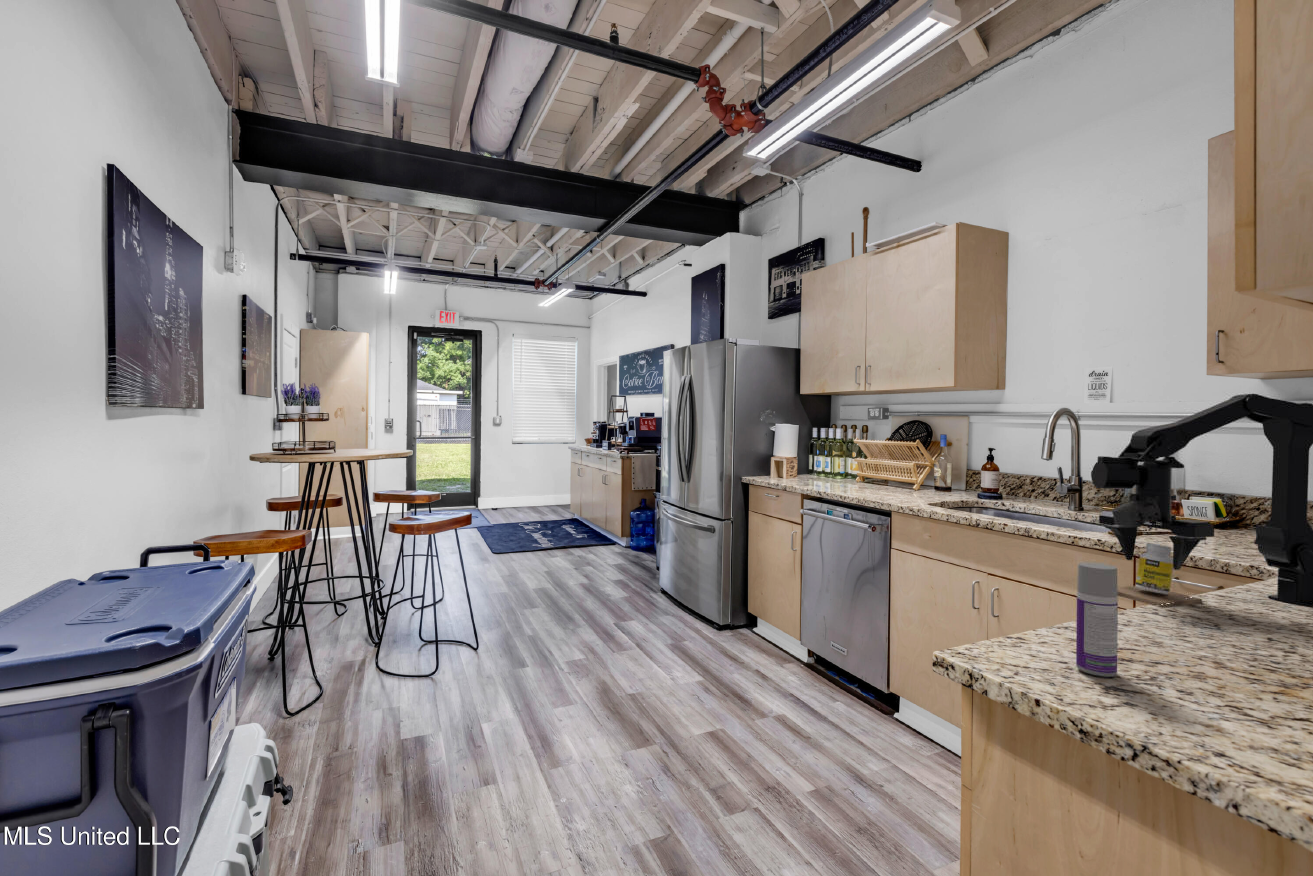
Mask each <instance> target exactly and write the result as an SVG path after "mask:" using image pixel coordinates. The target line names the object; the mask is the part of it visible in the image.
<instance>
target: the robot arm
mask: <svg viewBox="0 0 1313 876" xmlns="http://www.w3.org/2000/svg"><path fill="white" fill-rule="evenodd" d="M1244 418H1246V419H1248V420H1249V421H1252V422H1255V423H1258V424H1262V430H1263V434H1264V436H1265V437H1266V439H1267V440H1268V442H1269V443H1270V445H1271V447H1272V472H1271V473H1272V474H1271V475H1272V477H1271V480H1272V481H1271V502H1270V503H1271V507H1270V510H1271V511H1270V518H1269V519H1268V521H1267V522H1266V523H1265V524H1264V525H1262V524H1256V526H1255V535H1256V536H1255V537H1256V538H1255V540H1254V543H1253V544H1254V545H1257V550H1258V552H1259V554H1261V555H1262V556H1263V557H1264V560H1265V562H1266V566H1268V567H1273V568H1277V589H1276V592H1277V593H1276V594H1271V595H1270V594H1269V595H1267V598H1268V599H1271V600H1276V601H1281V602H1285V603H1289V604H1294V605H1299V606H1304V607H1309V608H1311V607H1313V528H1312V526H1311V525H1310V523H1309V521H1308V502H1309V501H1308V499H1309V498H1308V497H1309V496H1308V495H1309V475H1310V474H1309V471H1310V469H1309V468H1310V450H1311V447H1312V446H1313V403H1308V402H1299V403H1297V402H1292V401H1289V400H1283V399H1276V398H1271V397H1267V396H1265V395H1260V394H1258V393H1247V394H1246V393H1245V394H1236V395H1234V396H1232V397H1230V398H1229V399H1227V400H1224V401H1222V402H1220V403H1217V404H1215V405H1213V406H1210V407H1208V408H1206V409H1203V410H1201V411H1198V412H1197V413H1194V414H1193V413H1192V415H1189V416H1187V417H1184V418H1182V419H1180V420H1178V421H1174V422H1171V423H1166V424H1161V425H1155V426H1151V427H1147V428H1142V429H1139V430H1137V431H1134V433H1133V434H1132V435H1131V438H1130V442H1129V443H1128V445H1126V447H1125V448H1124V449H1123V450H1122V451H1121V453H1120V454H1119V455H1118V456H1117V457H1115V456H1114V457H1113V456H1103V455H1101V456H1099V455H1098V456H1097V461H1096V463H1094V465H1093V467H1092V470H1091V473H1090V478H1091V481H1092V484H1093V485H1094V487H1095V488H1096V489H1103V490H1104V489H1105V490H1106V489H1109V490H1110V489H1111V490H1113V489H1115V490H1130V489H1132V488H1134V487H1135V489H1134V493H1130V495H1129V497H1128V498H1129V499H1128V502H1125V503H1122V504H1120V505H1117V506H1116V507H1114V508H1112V509H1111V510H1102V511H1101V513H1100V514H1099V516H1098V524H1101V525H1104V528H1105V529H1108V530H1110V532H1112V533H1113V535H1115V537H1116V539H1117V540H1118V542H1119V545H1120V547H1121V549H1122V552H1123V555H1124V557H1125V560H1126V561H1132V560H1133V557H1134V554H1135V548H1136V547H1135V546H1136V539H1137V532H1138V528H1139V527H1146V528H1154V529H1158V530H1159V529H1161V530H1167V531H1170V532H1171V533H1172V534H1173V535H1168V538H1169V539H1170V540H1171V542H1172V544H1173V546H1172V548H1173V549H1172V550H1173V551H1172V559H1173V571H1174V570H1176V571H1179V570H1181V568H1182V567H1183V565H1184V563H1185V562H1186V560H1187V558H1188V557H1189V556H1190V554H1192V553H1191V552H1192V551H1194V549H1195V548H1196V547H1197V546H1198V544H1199V543H1200V542H1201V541H1206V540H1207V538H1210V537H1211V538H1212V537H1215V527H1214V526H1213V525H1212V523H1211V522H1209V521H1204V520H1203V521H1202V520H1196V519H1195V520H1194V519H1177V516H1176V514H1175V515H1174V514H1172V501H1176V500H1177V495H1175V494H1172V469H1184V468H1185V464H1183V463H1182V462H1180V461H1178V459H1176V457H1175V456H1173V455H1175V454H1176V453H1177V452H1179V451H1181V450H1183V449H1184V448H1186V447H1187V445H1188V444H1189V443H1190V442H1191V441H1193V440H1194V439H1195V438H1198V437H1201V436H1203V435H1205V434H1207V433H1210V432H1212V431H1214V430H1217V429H1220V428H1221V427H1224V426H1227V425H1229V424H1231V423H1234V422H1236V421H1239V420H1241V419H1244ZM1160 458H1162V459H1160ZM1139 463H1142V464H1139ZM1176 519H1177V520H1176Z"/></svg>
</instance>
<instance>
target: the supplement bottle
mask: <svg viewBox="0 0 1313 876" xmlns="http://www.w3.org/2000/svg"><path fill="white" fill-rule="evenodd" d="M1172 548H1173V546H1167V545H1163V544H1159V543H1158V544H1157V543H1152V542H1146V545H1145V550H1146V552H1142V553H1140V556H1139V562H1138V569H1137V572H1136V573H1137V574H1136V580H1135V586H1136V587H1137V588H1139V589H1142V590H1146V591H1151V592H1155V593H1160V594H1169V591H1170V589H1171V584H1172V583H1171V582H1172V575H1173V571H1174V567H1173V557H1170V555H1171V553H1172V550H1173V549H1172Z"/></svg>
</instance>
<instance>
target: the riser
mask: <svg viewBox="0 0 1313 876" xmlns="http://www.w3.org/2000/svg"><path fill="white" fill-rule="evenodd" d="M1117 591H1118V597H1121V598H1126V599H1128V600H1133V601H1137V602H1139V603H1143V604H1147V605H1151V606H1154V605H1159V606H1157V607H1158V608H1166V607H1167V608H1168V607H1177V606H1185V605H1193V604H1203V598H1198V597H1195V596H1190V595H1186V594H1181V593H1178V592H1174V591H1170V590H1169V594H1160V593H1155V592H1151V591H1146V590H1142V589H1139V588H1137V587H1136V585H1131V586H1117ZM1190 597H1192V598H1190ZM1186 598H1187V599H1186ZM1172 602H1174V603H1172ZM1166 603H1170V604H1166ZM1161 604H1163V605H1161Z"/></svg>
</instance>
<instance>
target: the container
mask: <svg viewBox="0 0 1313 876" xmlns="http://www.w3.org/2000/svg"><path fill="white" fill-rule="evenodd" d="M1076 587H1077V588H1076V590H1077V591H1076V636H1075V637H1076V641H1075V642H1076V648H1075V649H1076V650H1075V656H1076V657H1075V658H1076V660H1075V661H1076V662H1075V663H1076V665H1075V666H1076V668H1077V669H1078V670H1080V671H1082V672H1084V673H1087V674H1091V675H1094V676H1099V677H1106V678H1107V677H1108V678H1110V677H1115V676H1117V675H1118V632H1119V631H1118V623H1119V622H1118V621H1119V620H1118V614H1119V613H1118V610H1119V602H1118V601H1119V600H1118V599H1119V596H1118V591H1117V588H1118V567H1117V566H1115V565H1111V564H1106V563H1099V562H1089V561H1088V562H1087V561H1084V562H1083V561H1081V562H1078V565H1077V586H1076Z"/></svg>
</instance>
